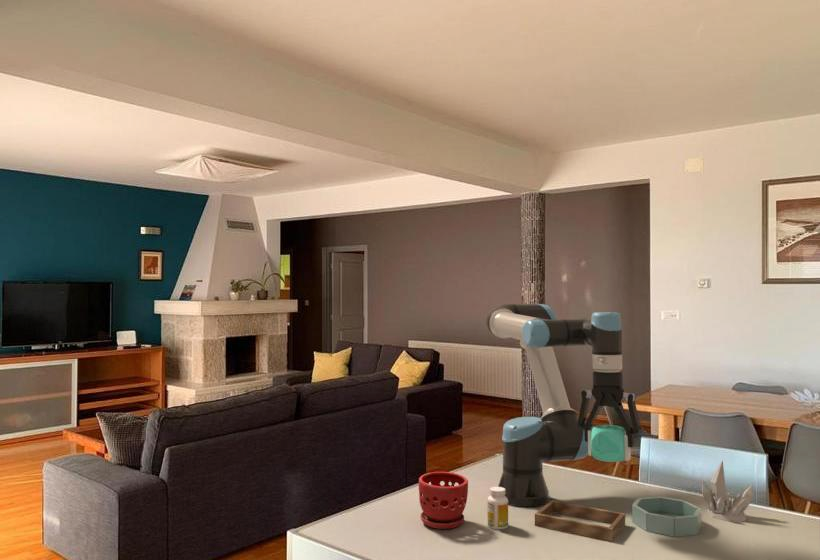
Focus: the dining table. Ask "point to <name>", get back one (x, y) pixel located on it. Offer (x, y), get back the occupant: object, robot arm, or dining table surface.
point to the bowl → (666, 516)
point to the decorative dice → (608, 443)
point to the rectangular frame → (577, 527)
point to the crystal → (725, 499)
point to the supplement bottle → (497, 508)
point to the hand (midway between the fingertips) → (609, 457)
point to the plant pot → (442, 499)
